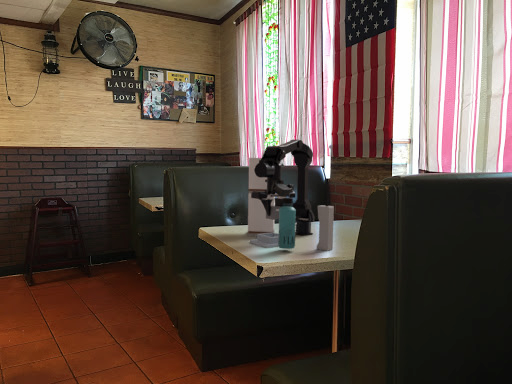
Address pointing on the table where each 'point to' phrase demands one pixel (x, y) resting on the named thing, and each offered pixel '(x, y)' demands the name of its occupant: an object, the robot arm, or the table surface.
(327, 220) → the vintage mobile phone
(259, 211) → the white box wooden trim
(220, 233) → the table surface
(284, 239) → the beverage bottle
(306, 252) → the table surface
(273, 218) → the brick
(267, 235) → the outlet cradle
